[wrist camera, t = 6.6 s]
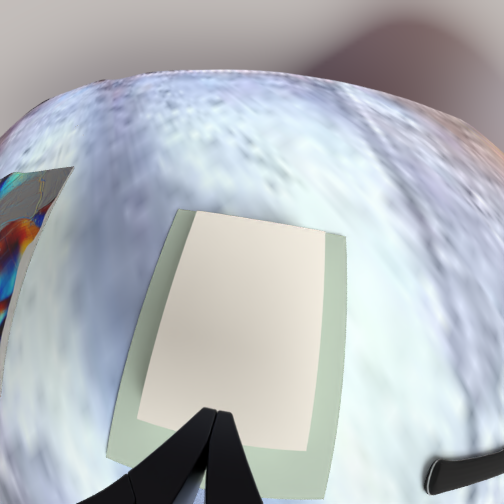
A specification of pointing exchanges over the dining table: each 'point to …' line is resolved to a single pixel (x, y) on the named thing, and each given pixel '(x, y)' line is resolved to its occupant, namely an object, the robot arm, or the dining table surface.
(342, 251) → the sage rubber mat
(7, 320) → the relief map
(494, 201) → the dining table surface
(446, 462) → the kitchen cleaver
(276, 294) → the standing glazed tile
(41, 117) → the dining table surface
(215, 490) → the robot arm
